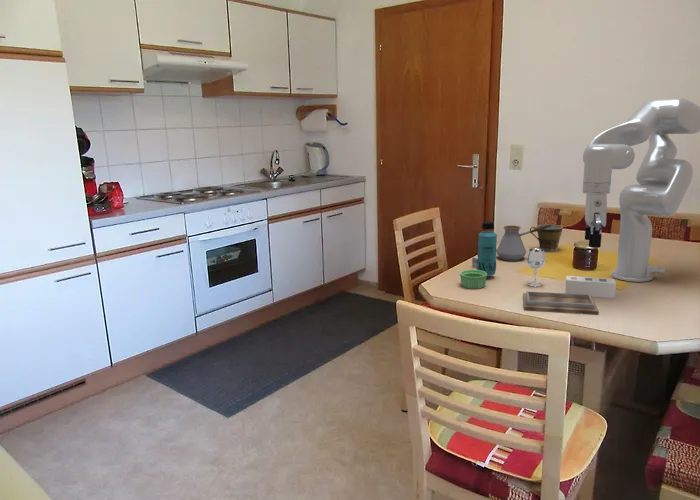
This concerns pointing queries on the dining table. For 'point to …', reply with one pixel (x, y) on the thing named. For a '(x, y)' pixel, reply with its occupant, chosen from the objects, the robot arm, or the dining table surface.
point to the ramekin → (473, 279)
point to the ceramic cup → (549, 237)
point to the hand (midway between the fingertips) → (592, 243)
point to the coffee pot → (513, 243)
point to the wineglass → (535, 262)
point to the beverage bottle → (487, 249)
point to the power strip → (591, 286)
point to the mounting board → (559, 302)
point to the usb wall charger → (474, 262)
